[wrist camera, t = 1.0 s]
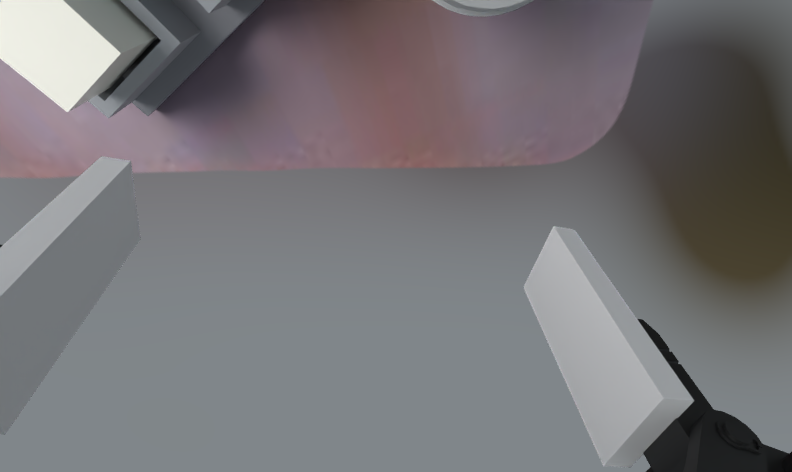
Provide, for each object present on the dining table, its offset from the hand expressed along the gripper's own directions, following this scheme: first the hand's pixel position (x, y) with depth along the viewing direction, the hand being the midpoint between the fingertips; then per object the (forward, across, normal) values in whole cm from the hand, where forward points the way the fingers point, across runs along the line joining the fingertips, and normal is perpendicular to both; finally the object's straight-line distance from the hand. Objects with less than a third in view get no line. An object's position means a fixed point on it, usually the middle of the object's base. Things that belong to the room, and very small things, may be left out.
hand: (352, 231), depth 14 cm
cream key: (+19, -16, -1) cm, 25 cm away
